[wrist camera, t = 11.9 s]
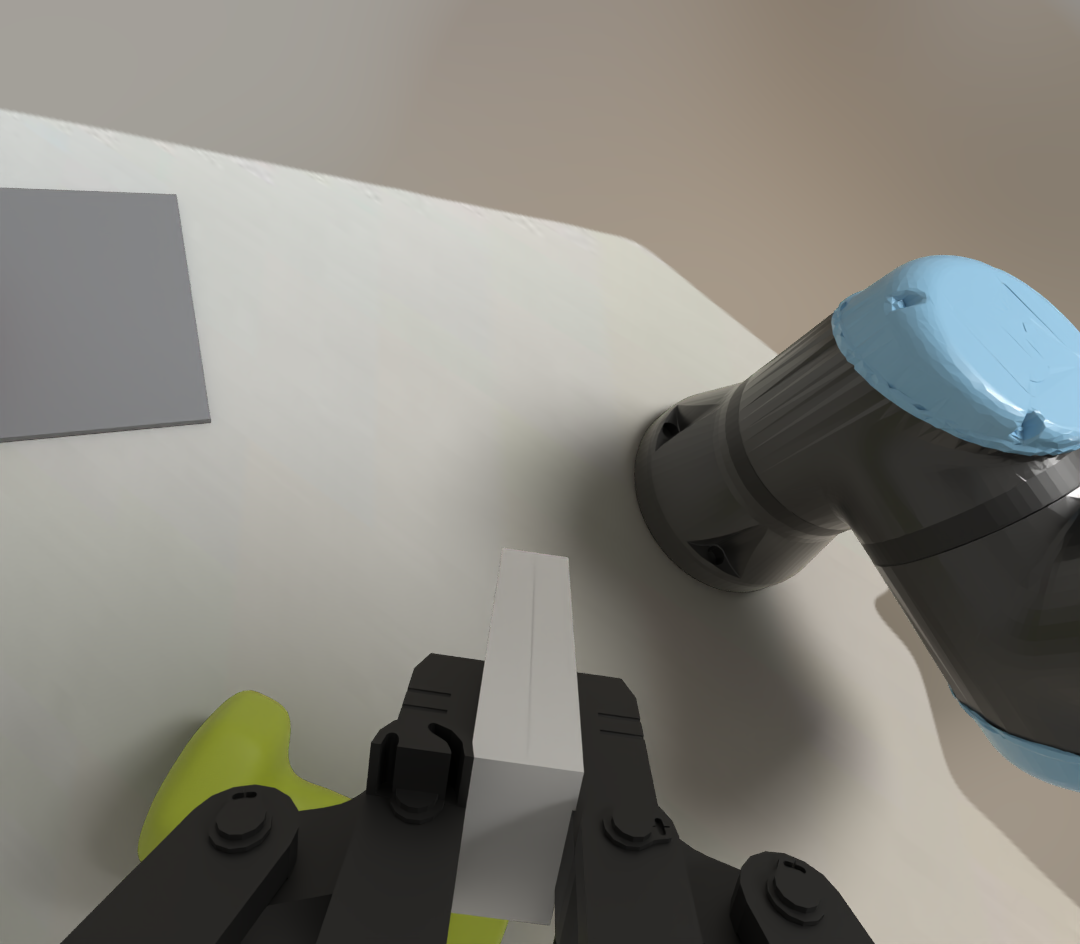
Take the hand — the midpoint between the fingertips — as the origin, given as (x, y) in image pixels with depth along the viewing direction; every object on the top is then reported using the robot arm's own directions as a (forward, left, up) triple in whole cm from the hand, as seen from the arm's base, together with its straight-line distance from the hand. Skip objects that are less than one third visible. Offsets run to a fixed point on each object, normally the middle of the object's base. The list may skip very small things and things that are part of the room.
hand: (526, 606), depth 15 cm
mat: (+16, -25, -25) cm, 39 cm away
